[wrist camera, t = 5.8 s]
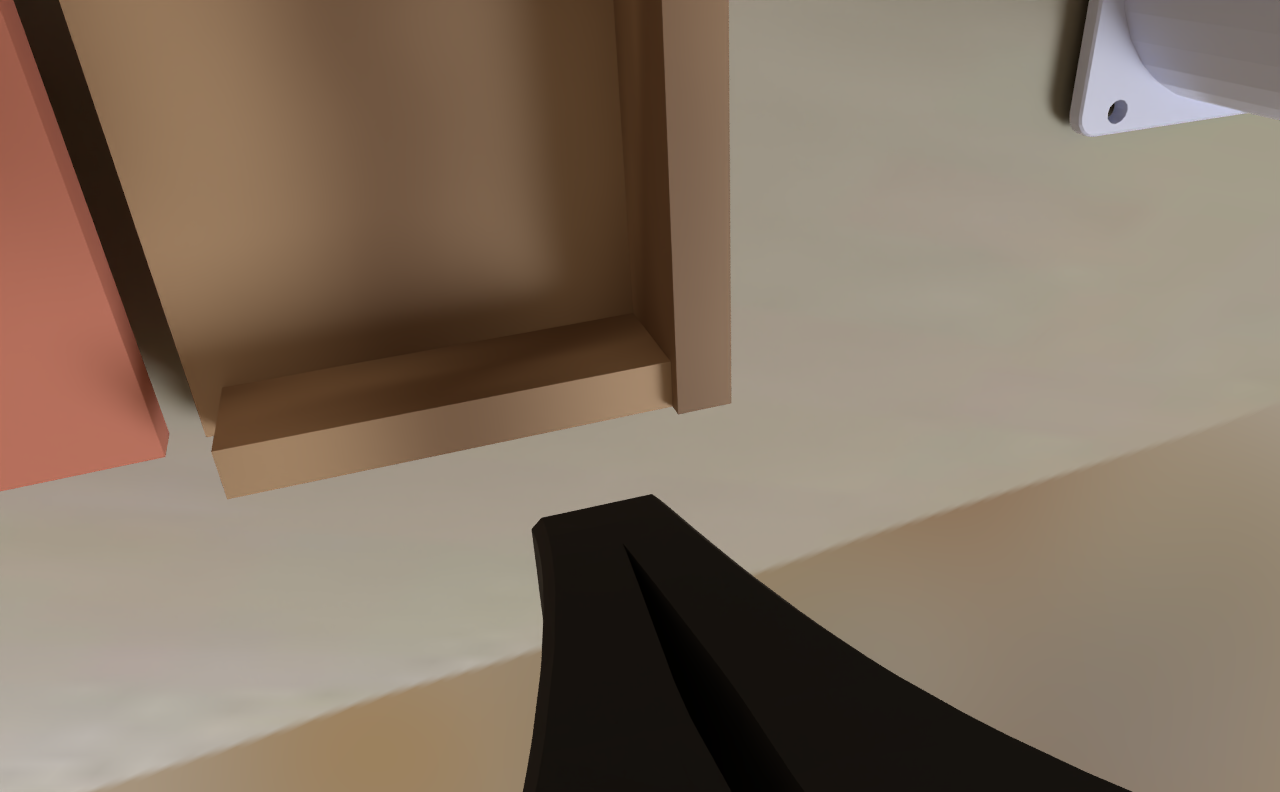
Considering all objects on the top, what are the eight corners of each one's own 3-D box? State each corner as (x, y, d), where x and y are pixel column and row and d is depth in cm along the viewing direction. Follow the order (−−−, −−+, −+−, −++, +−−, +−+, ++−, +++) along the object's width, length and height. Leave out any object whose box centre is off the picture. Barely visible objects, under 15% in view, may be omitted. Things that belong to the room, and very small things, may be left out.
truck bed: (623, -247, 15) (726, -290, 12) (654, 348, 21) (731, 450, 17) (18, -227, 13) (-97, -273, 9) (229, 430, 19) (210, 566, 15)
